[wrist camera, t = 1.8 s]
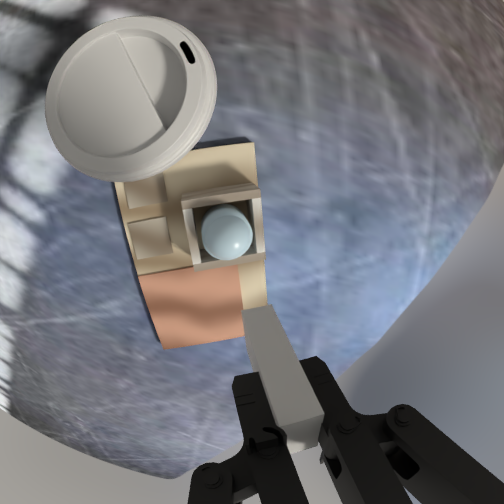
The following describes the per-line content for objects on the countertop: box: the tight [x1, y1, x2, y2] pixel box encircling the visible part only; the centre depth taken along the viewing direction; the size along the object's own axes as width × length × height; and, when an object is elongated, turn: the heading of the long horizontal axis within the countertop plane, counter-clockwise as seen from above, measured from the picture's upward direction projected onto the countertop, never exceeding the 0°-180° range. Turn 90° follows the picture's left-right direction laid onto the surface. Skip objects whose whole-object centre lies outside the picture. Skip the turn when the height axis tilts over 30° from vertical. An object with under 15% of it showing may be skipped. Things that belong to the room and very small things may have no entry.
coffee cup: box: [45, 16, 217, 182], centre depth 17 cm, size 10×10×15 cm
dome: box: [201, 204, 253, 260], centre depth 25 cm, size 4×4×5 cm
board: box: [115, 142, 267, 349], centre depth 29 cm, size 23×14×4 cm, turn 5°
